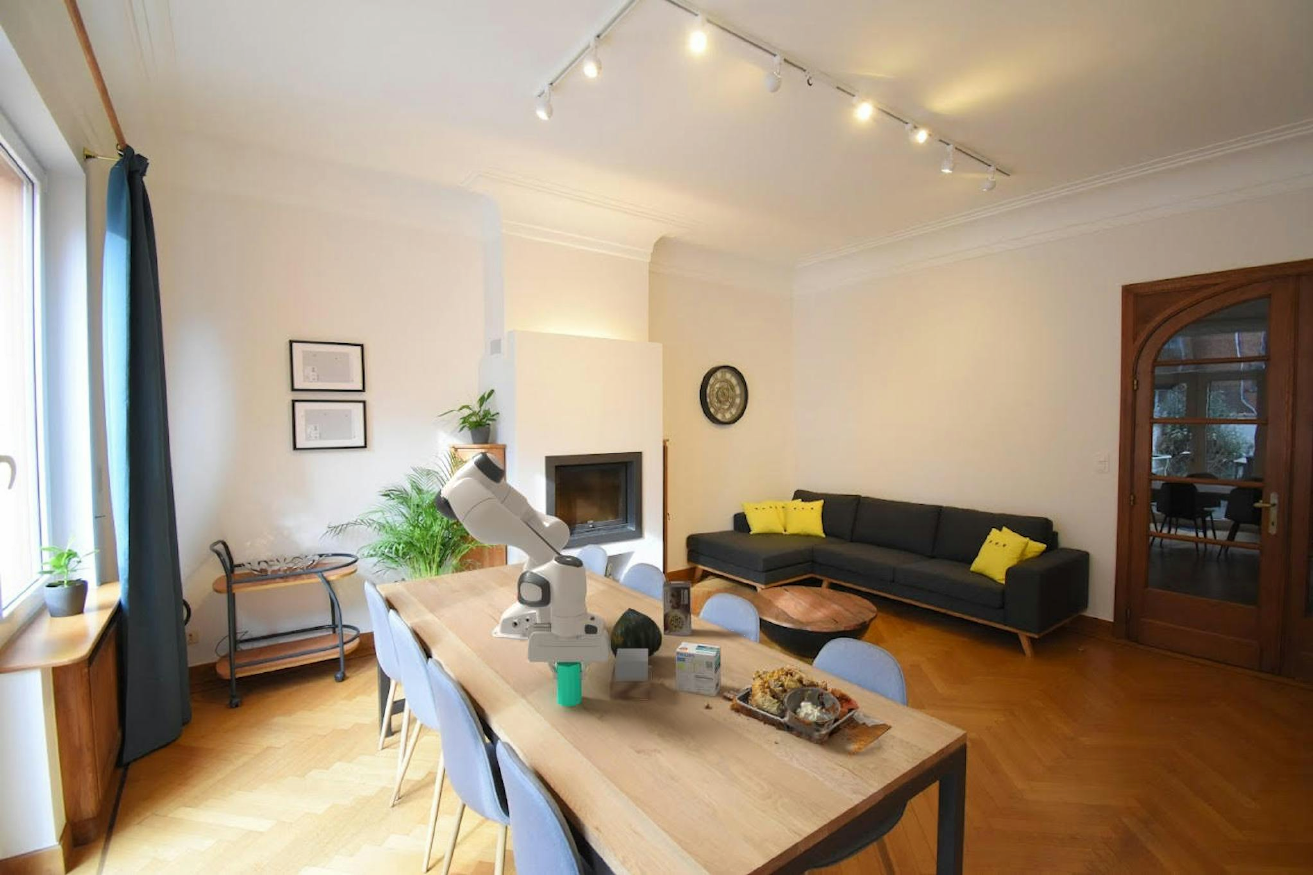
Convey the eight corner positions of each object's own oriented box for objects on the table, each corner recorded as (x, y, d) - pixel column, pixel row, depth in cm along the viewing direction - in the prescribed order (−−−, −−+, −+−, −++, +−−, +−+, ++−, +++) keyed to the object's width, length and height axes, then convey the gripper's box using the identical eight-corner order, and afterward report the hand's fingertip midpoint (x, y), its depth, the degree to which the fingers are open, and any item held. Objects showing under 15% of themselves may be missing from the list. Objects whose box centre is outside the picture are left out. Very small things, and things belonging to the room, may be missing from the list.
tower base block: (610, 702, 145) (610, 682, 144) (614, 684, 155) (614, 665, 154) (650, 702, 144) (650, 682, 144) (651, 684, 154) (651, 665, 154)
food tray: (892, 729, 132) (893, 683, 132) (832, 776, 115) (832, 723, 114) (766, 679, 158) (766, 640, 157) (702, 711, 140) (701, 667, 140)
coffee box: (691, 628, 194) (691, 580, 193) (690, 636, 187) (690, 586, 187) (664, 628, 195) (664, 580, 194) (662, 635, 188) (662, 585, 188)
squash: (600, 665, 166) (599, 612, 165) (637, 649, 177) (636, 600, 176) (635, 680, 156) (635, 624, 156) (672, 662, 167) (672, 610, 166)
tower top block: (615, 681, 145) (615, 661, 145) (617, 667, 153) (617, 648, 153) (647, 681, 145) (647, 661, 145) (648, 667, 153) (648, 648, 153)
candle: (558, 697, 146) (557, 650, 146) (582, 696, 147) (581, 649, 147) (556, 709, 140) (555, 660, 140) (581, 708, 141) (580, 659, 141)
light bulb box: (721, 686, 152) (721, 645, 152) (715, 697, 146) (715, 655, 146) (682, 680, 156) (682, 640, 155) (675, 691, 149) (674, 650, 149)
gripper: (523, 627, 140) (524, 683, 141) (608, 627, 140) (608, 684, 140) (529, 618, 146) (530, 672, 147) (611, 618, 146) (611, 673, 146)
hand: (569, 678), depth 143 cm, fingers closed on candle, 5 cm apart
